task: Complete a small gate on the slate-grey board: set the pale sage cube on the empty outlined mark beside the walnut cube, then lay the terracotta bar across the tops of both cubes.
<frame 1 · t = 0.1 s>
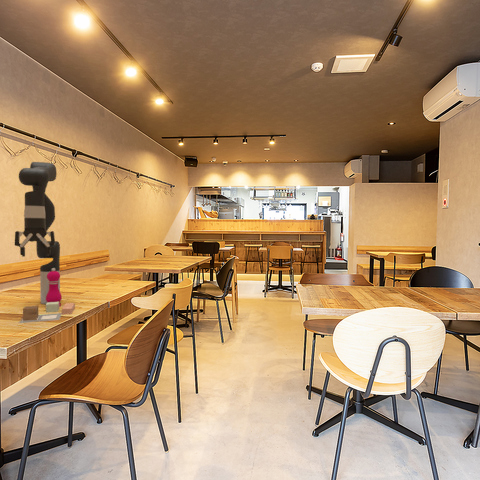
hand: (35, 256, 141), 29 cm above the table, tool pointing down, fingers open, 8 cm apart
pepper mill: (54, 307, 174), on the table
board: (41, 320, 149), on the table
walnut cube: (30, 318, 147), point 1 cm above the table, touching board
lintel: (68, 314, 161), on the table
sage cube: (52, 313, 161), on the table
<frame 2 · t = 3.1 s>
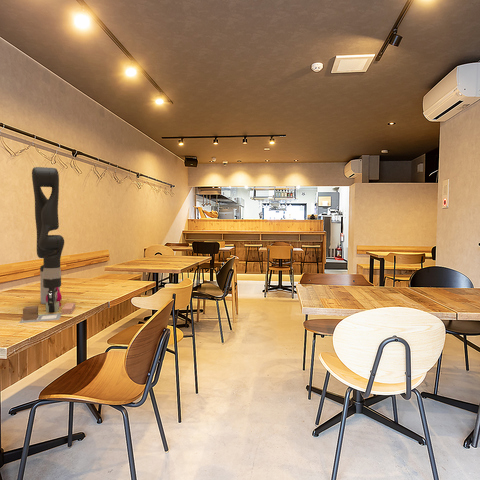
hand: (52, 312, 161), 0 cm above the table, tool pointing down, fingers closed on sage cube, 5 cm apart
sage cube: (52, 313, 161), on the table, touching gripper
everything else where it was.
when the fingers open (3 cm above the table, at t = 8.1 s): sage cube stays where it is, resting on board.
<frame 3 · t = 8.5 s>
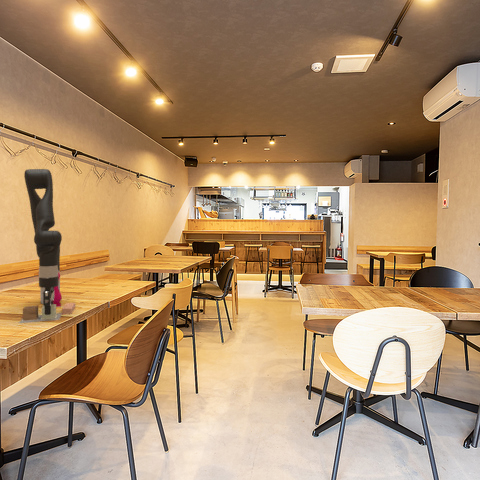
hand: (49, 312, 150), 3 cm above the table, tool pointing down, fingers open, 8 cm apart
sage cube: (49, 317, 150), point 1 cm above the table, touching board
everything else where it was.
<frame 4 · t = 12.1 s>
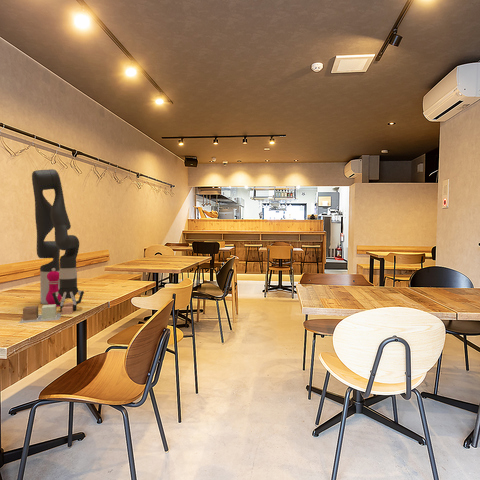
hand: (68, 312, 161), 0 cm above the table, tool pointing down, fingers closed on lintel, 4 cm apart
lintel: (68, 313, 161), on the table, touching gripper
everything else where it was.
when the fingers open (8 cm above the table, at t = 16.1 s): lintel stays where it is, resting on sage cube, walnut cube.
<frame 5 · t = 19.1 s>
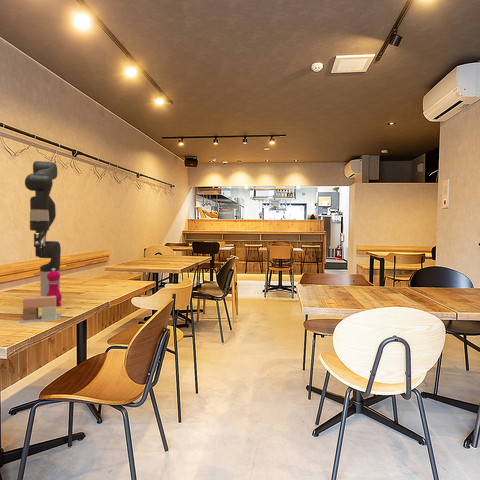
hand: (40, 255, 153), 28 cm above the table, tool pointing down, fingers open, 8 cm apart
walnut cube: (30, 318, 147), point 1 cm above the table, touching board, lintel
lintel: (40, 306, 149), point 6 cm above the table, touching sage cube, walnut cube
sage cube: (49, 317, 150), point 1 cm above the table, touching board, lintel
everything else where it was.
at the end: sage cube 0.1 cm from the target spot on the board, point 1.2 cm above the board's base; lintel 0.1 cm off-centre on the board, point 6.2 cm above the board's base; lintel tilted 0° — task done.
